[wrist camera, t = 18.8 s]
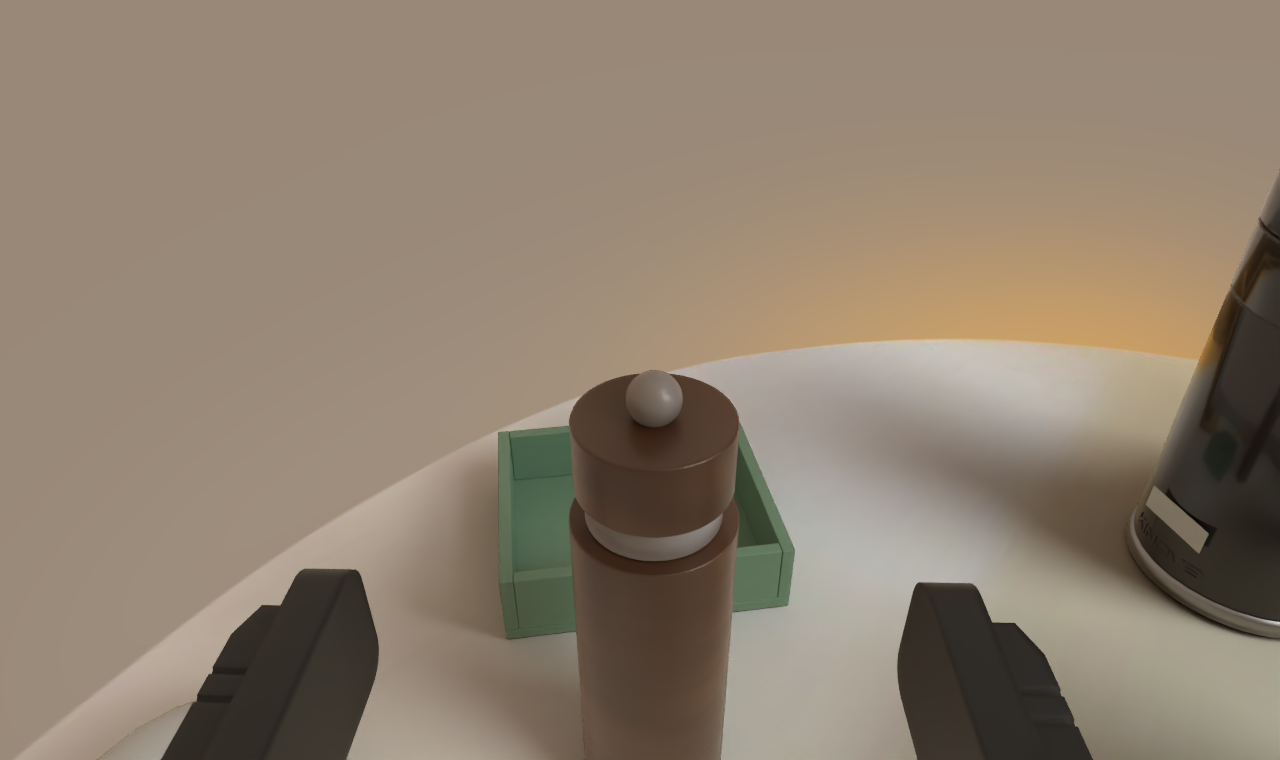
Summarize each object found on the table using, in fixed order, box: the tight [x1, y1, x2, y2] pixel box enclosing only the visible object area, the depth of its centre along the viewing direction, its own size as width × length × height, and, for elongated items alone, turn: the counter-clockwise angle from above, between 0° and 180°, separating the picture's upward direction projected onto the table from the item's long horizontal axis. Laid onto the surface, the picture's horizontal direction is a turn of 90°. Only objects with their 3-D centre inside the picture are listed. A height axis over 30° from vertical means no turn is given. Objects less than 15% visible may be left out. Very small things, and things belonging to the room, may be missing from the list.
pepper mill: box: [569, 370, 739, 760], centre depth 27 cm, size 5×5×18 cm
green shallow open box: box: [498, 422, 795, 639], centre depth 42 cm, size 13×11×4 cm
